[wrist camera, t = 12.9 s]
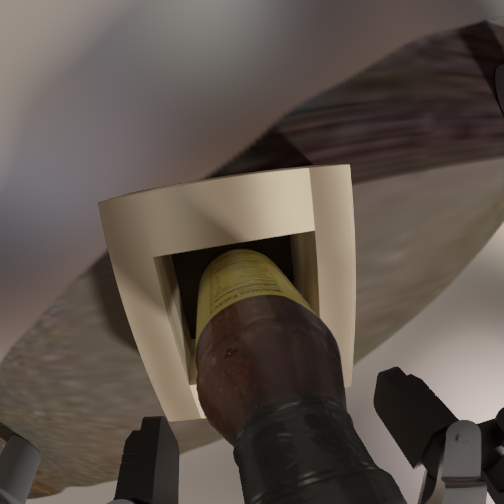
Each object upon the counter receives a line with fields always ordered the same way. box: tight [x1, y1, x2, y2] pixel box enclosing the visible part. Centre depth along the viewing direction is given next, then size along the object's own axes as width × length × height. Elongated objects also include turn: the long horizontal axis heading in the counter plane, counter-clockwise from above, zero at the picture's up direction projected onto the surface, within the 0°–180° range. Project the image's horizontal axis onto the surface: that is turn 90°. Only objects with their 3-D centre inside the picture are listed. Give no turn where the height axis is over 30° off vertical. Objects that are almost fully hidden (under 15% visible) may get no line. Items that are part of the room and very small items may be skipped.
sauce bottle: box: [195, 248, 407, 504], centre depth 13 cm, size 7×6×20 cm
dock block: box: [98, 165, 356, 421], centre depth 20 cm, size 14×16×6 cm
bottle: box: [0, 435, 41, 504], centre depth 18 cm, size 6×6×15 cm
